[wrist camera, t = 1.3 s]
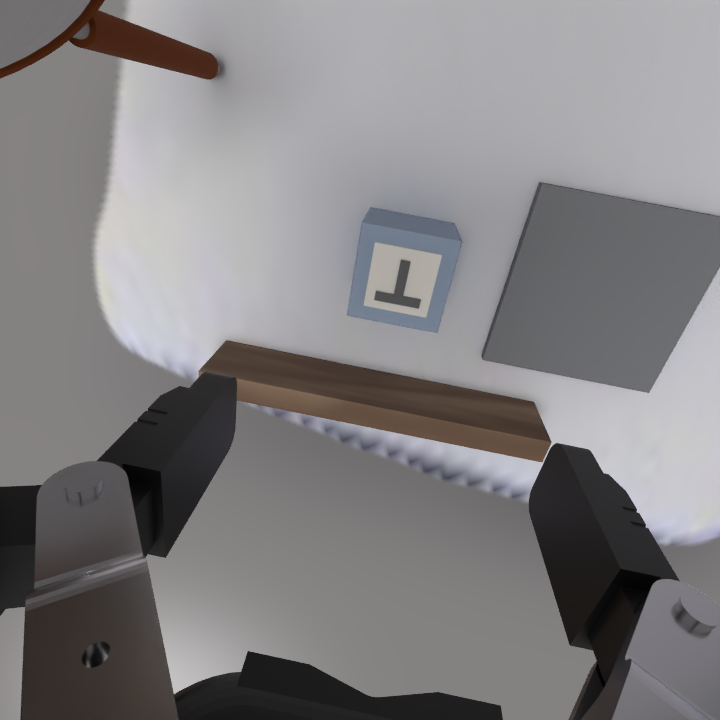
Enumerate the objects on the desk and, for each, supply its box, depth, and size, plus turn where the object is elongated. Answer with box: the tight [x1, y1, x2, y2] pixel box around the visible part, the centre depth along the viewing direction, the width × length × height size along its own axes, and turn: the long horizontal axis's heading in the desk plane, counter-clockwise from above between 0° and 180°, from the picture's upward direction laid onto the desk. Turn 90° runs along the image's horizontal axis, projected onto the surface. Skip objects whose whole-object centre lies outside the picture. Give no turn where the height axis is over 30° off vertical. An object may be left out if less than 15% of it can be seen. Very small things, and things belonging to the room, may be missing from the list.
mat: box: [482, 183, 720, 393], centre depth 27 cm, size 11×11×1 cm
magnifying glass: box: [0, 0, 220, 79], centre depth 15 cm, size 9×2×20 cm, turn 117°
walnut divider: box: [199, 341, 551, 462], centre depth 29 cm, size 2×22×4 cm, turn 80°
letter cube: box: [347, 207, 462, 333], centre depth 25 cm, size 5×5×5 cm
